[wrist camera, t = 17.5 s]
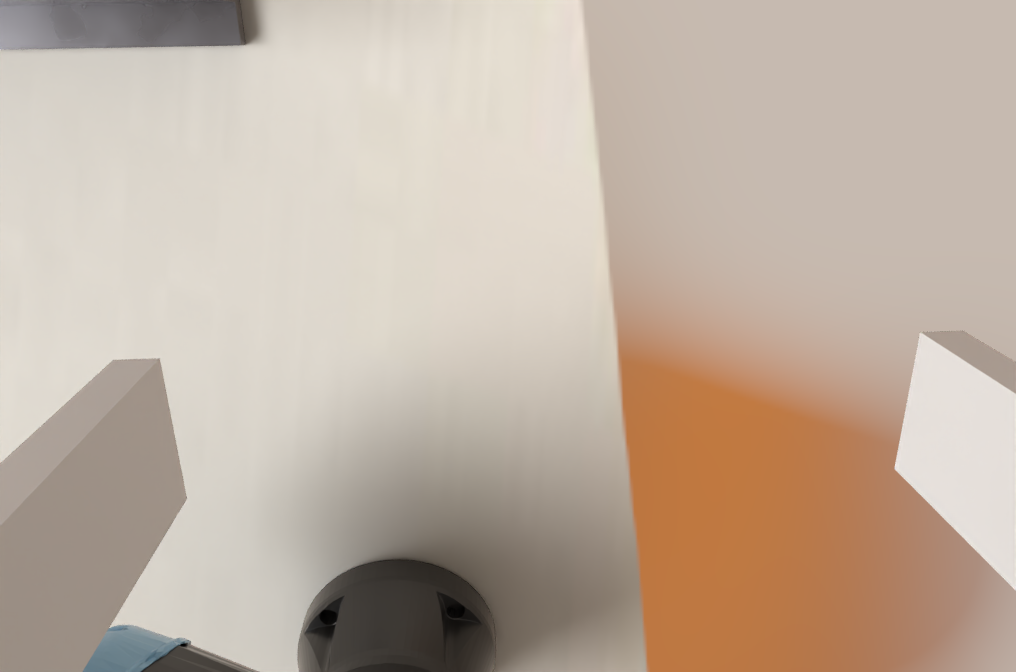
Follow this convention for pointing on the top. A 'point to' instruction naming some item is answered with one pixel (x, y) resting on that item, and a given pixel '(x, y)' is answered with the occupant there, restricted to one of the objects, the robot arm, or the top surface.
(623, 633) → the top surface
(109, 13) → the collar stand
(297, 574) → the top surface
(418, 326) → the top surface
